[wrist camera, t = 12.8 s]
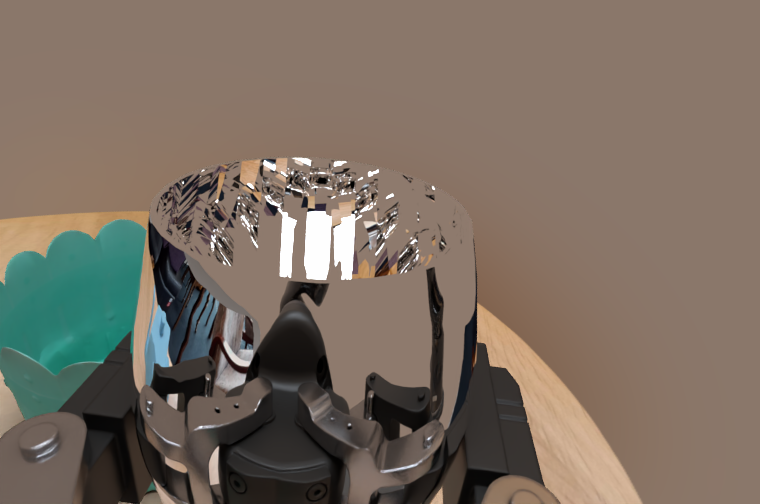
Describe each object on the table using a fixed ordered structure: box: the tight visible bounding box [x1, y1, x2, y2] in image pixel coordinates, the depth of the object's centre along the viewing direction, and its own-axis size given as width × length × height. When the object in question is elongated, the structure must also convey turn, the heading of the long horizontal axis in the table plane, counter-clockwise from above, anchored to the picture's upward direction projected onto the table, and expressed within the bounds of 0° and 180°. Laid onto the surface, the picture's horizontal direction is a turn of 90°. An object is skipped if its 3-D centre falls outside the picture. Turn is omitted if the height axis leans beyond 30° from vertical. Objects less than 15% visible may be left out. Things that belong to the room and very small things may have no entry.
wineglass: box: [130, 157, 477, 504], centre depth 10 cm, size 6×6×12 cm
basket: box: [0, 219, 156, 492], centre depth 37 cm, size 19×18×13 cm
